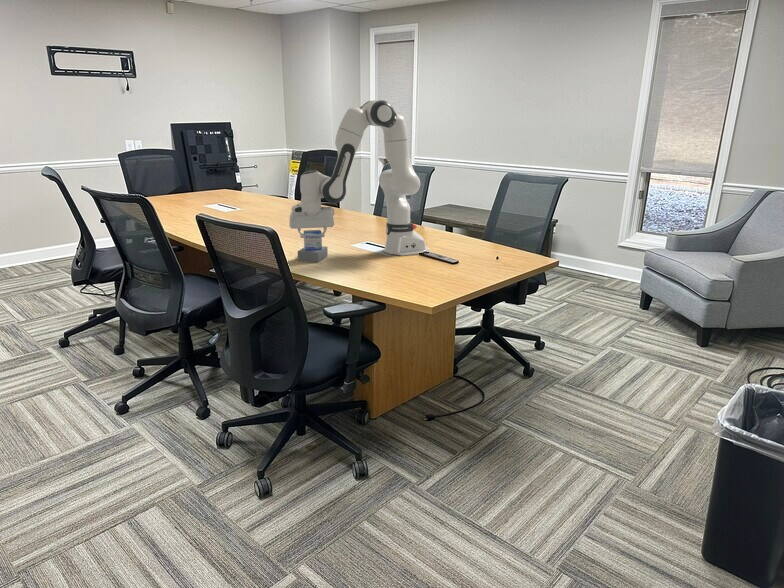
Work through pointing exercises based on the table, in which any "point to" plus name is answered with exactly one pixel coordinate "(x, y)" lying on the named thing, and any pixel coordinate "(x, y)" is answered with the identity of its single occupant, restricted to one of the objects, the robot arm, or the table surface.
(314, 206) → the robot arm
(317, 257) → the slate block
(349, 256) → the table surface
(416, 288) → the table surface
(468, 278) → the table surface
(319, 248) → the medicine box
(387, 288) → the table surface
